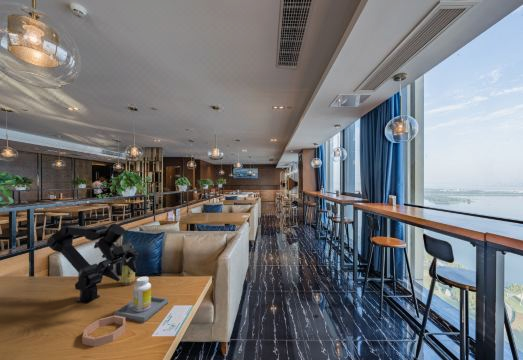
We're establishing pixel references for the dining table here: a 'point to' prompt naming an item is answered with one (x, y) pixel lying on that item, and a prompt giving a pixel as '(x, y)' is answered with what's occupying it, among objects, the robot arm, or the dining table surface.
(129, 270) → the sauce bottle
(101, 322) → the holder ring
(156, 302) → the tray
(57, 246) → the robot arm
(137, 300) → the supplement bottle
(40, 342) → the dining table surface
